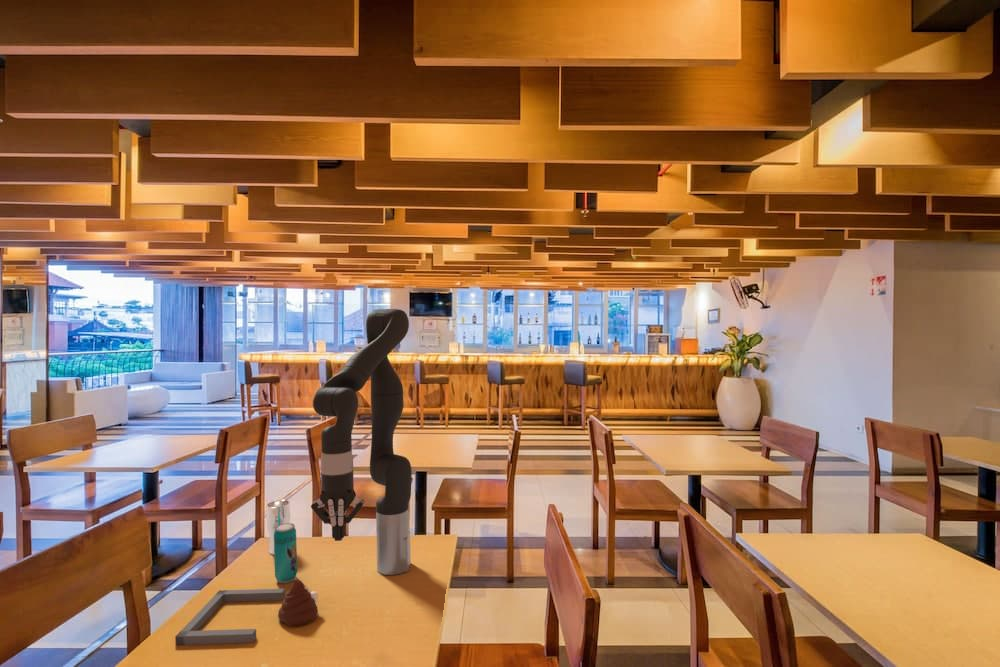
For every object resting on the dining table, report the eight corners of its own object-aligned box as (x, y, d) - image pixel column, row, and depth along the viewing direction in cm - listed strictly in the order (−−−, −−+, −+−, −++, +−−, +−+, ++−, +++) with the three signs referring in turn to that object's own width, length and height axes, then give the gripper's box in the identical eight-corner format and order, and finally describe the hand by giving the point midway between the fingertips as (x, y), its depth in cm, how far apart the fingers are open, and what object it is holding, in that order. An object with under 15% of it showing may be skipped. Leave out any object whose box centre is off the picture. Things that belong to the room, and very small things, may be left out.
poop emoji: (270, 620, 129) (269, 582, 128) (300, 603, 136) (299, 567, 136) (297, 632, 123) (296, 593, 123) (326, 615, 131) (325, 577, 130)
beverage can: (289, 585, 145) (288, 531, 145) (270, 583, 146) (269, 529, 146) (301, 575, 151) (300, 523, 150) (283, 573, 152) (281, 521, 151)
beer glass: (296, 548, 169) (295, 501, 168) (278, 557, 162) (277, 508, 162) (280, 544, 172) (279, 498, 171) (262, 553, 165) (261, 505, 165)
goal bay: (285, 596, 140) (285, 588, 139) (252, 642, 120) (252, 634, 120) (219, 598, 139) (219, 590, 139) (175, 645, 119) (175, 636, 119)
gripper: (367, 464, 133) (369, 532, 134) (314, 465, 133) (316, 534, 133) (361, 473, 126) (362, 545, 126) (304, 474, 125) (306, 546, 126)
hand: (338, 539), depth 130 cm, fingers closed
